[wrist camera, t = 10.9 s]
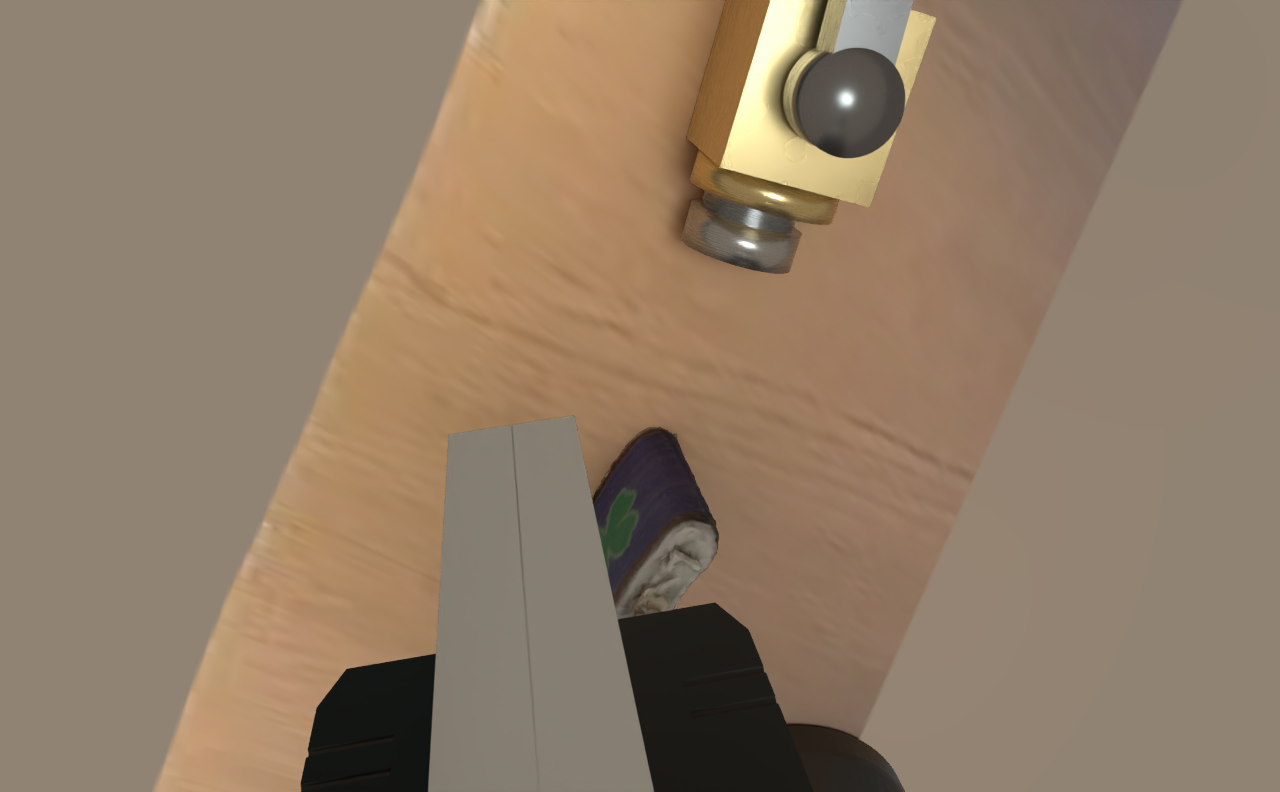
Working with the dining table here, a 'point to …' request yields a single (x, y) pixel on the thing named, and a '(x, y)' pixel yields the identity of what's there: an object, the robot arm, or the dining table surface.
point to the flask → (653, 525)
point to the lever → (850, 79)
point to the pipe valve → (771, 138)
